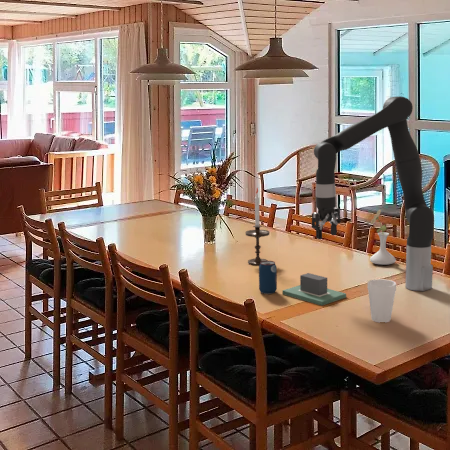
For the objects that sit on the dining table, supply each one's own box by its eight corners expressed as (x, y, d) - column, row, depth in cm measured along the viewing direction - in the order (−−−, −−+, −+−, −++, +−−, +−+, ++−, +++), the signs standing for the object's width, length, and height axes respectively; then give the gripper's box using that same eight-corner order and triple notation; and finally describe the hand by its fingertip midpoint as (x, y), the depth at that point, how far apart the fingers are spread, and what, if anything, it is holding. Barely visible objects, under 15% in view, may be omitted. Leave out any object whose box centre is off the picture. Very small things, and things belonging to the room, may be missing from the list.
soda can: (280, 292, 264) (280, 263, 262) (265, 295, 261) (264, 265, 259) (270, 288, 270) (270, 259, 268) (255, 291, 267) (255, 261, 265)
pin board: (346, 297, 257) (346, 283, 256) (321, 305, 248) (321, 291, 247) (306, 286, 272) (306, 273, 270) (282, 294, 263) (282, 280, 261)
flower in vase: (380, 259, 311) (381, 205, 306) (400, 263, 302) (402, 208, 297) (362, 264, 303) (362, 209, 298) (382, 269, 294) (384, 212, 289)
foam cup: (361, 319, 232) (362, 283, 229) (376, 313, 238) (377, 277, 236) (385, 326, 225) (386, 288, 223) (400, 319, 232) (401, 282, 229)
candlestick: (258, 258, 317) (257, 184, 310) (274, 262, 309) (273, 186, 302) (241, 262, 310) (239, 187, 303) (257, 267, 302) (256, 189, 295)
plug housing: (327, 293, 257) (327, 277, 256) (319, 295, 254) (319, 280, 253) (308, 287, 264) (308, 273, 263) (300, 290, 261) (300, 275, 260)
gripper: (321, 198, 249) (322, 241, 252) (345, 193, 258) (346, 234, 262) (305, 197, 255) (306, 239, 258) (330, 191, 264) (330, 232, 267)
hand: (326, 236), depth 260 cm, fingers open, 8 cm apart
